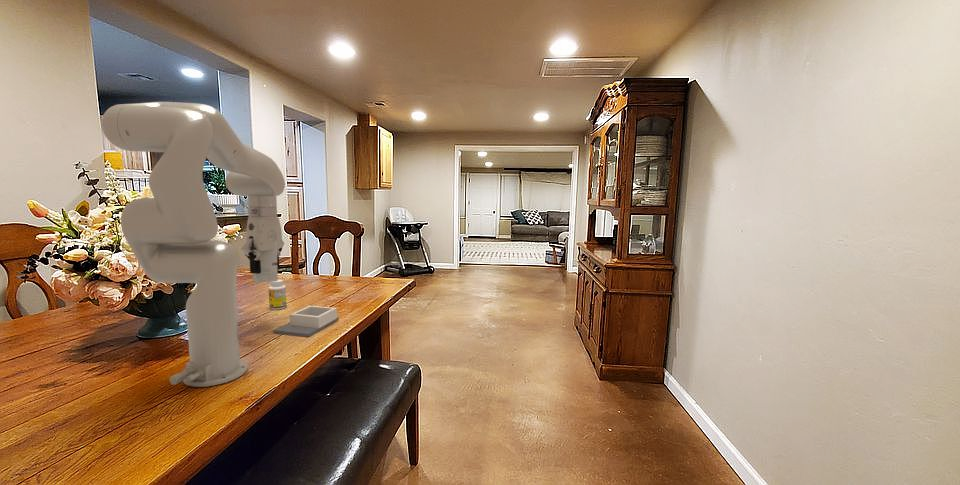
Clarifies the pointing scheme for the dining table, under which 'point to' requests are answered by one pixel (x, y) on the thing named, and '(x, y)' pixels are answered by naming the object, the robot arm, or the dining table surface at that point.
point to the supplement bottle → (277, 295)
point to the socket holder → (308, 321)
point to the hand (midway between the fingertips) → (265, 270)
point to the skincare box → (267, 266)
